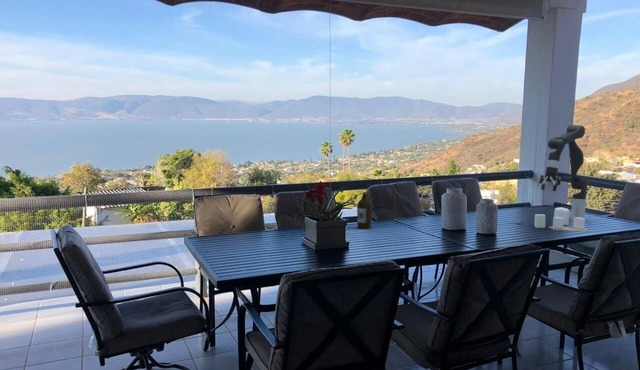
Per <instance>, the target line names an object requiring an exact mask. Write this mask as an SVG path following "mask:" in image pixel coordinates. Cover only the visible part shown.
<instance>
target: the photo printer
mask: <svg viewBox="0 0 640 370" xmlns="http://www.w3.org/2000/svg"><path fill="white" fill-rule="evenodd" d="M553 217H562V218H564V226H569V224H570V222H569V221H570V209H568V208H566V207H562V206H561V207H556V208H555V209H554V213H553Z"/></svg>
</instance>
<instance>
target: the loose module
mask: <svg viewBox="0 0 640 370" xmlns="http://www.w3.org/2000/svg"><path fill="white" fill-rule="evenodd" d="M533 227H534V228H536V229H538V228H539V229H545V228H546V214H543V213H542V214H541V213H540V214H538V213H537V214H535V213H534V226H533Z"/></svg>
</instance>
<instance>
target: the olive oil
mask: <svg viewBox="0 0 640 370" xmlns="http://www.w3.org/2000/svg"><path fill="white" fill-rule="evenodd" d="M356 205H357V206H356V212H357V213H356V218H357V229H359V230H370V229H372V216H373V204H372V202H371V201H370V199H368V192H366V191H364V192H362V198H361V199H360V200H359V201H358V202H357V204H356Z"/></svg>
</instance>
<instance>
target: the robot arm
mask: <svg viewBox="0 0 640 370" xmlns="http://www.w3.org/2000/svg"><path fill="white" fill-rule="evenodd" d="M585 134H586V128H585V126H583V125H580V124H579V125H577V124H574V125H573V124H571V125H568V126H567V128H566V133H563V134H561V135H559V136H556V137H554V138H553V137H552V138H551V139H549V140H548V142H547V147H548V148H549V149H550V150H555V151H551V152H550V153H548V159H547V162H546V167H545V168H546V169H545V175H543V174H541V175H540V179H539V184H540V185H541V188H540V189H541V191H545V189H546V184H547V183H553V185H552V186H553V187H552V191H553V192H556V191H557V188H558V186H560V185H561V182H562V181H561V180H562V176H560V175H558V172H559V168H560V167H559V166H560V160H561V155H562V153H563V151H564V149H565V147H566V145H567V144H568V152H569V165H570V188H571V189H572V190H580V191H579V192H577V193H573V194H572V196H571V197H572V199H571V208H570V210H571V214H570V221H572V222H574V217H582V218H584V219H586V218H585V217H586V216H585V215H586V205H587V203H586V202H587V201H586V200H587V193H588V192H587V191H588V183H589V182H588V178H587V177H580V176H577V174H578V172H579V170H580V169H581V167H582V166H583V164H584V153H583V150H582V149H581V148H580V147H579V145H578V144H577V142H576V140H578V139H582V138H583V137H584V136H585Z"/></svg>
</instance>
